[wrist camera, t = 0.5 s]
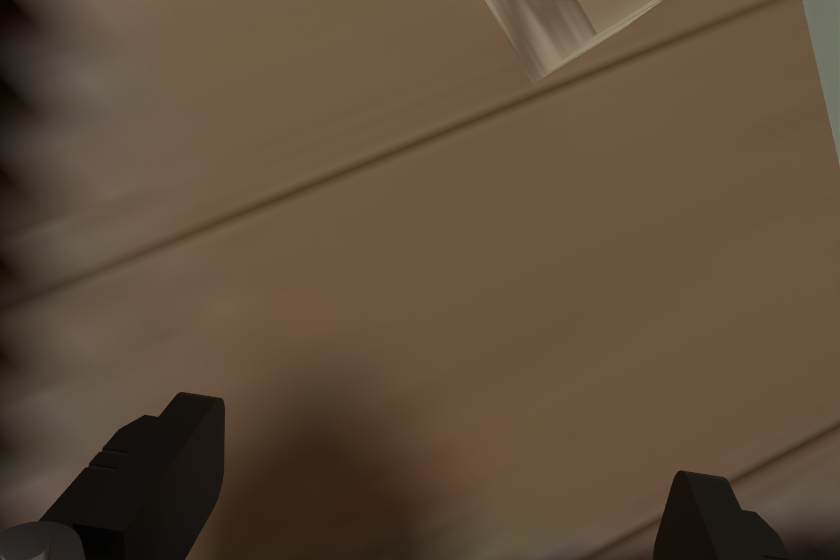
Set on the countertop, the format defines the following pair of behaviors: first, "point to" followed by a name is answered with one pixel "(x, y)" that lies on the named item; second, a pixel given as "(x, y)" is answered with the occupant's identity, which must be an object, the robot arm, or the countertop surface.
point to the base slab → (827, 55)
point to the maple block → (561, 28)
